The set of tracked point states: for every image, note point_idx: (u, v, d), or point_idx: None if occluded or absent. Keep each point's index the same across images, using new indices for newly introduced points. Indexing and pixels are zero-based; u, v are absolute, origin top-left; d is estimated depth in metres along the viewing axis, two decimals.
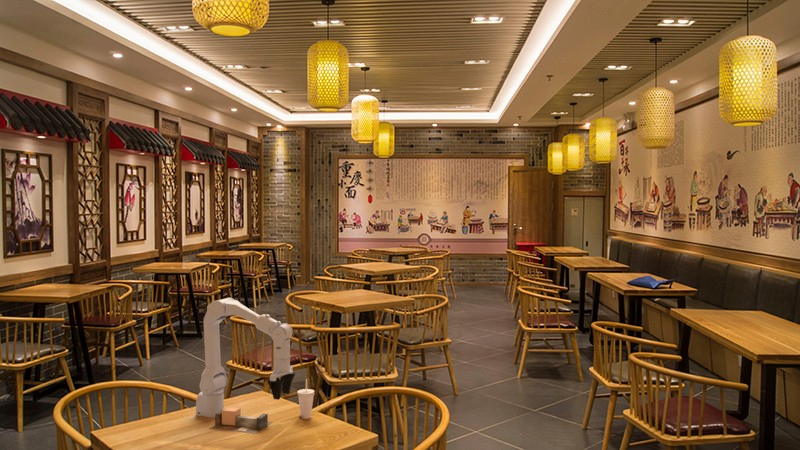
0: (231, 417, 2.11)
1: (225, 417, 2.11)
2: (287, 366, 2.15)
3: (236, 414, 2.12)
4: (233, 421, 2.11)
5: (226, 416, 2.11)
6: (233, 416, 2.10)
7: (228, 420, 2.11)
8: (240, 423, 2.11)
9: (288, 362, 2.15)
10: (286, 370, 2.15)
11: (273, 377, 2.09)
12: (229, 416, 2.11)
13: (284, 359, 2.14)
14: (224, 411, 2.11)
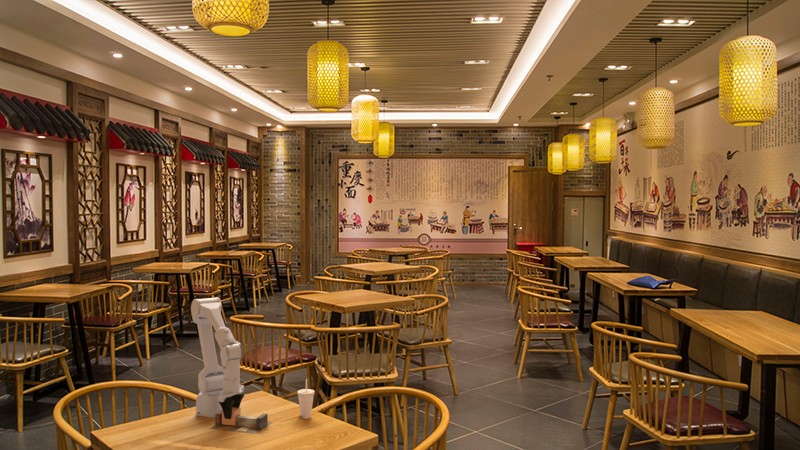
0: (231, 417, 2.11)
1: None
2: (236, 386, 2.11)
3: (236, 414, 2.12)
4: (233, 421, 2.11)
5: None
6: (233, 416, 2.10)
7: (228, 420, 2.11)
8: (240, 423, 2.11)
9: (237, 382, 2.12)
10: (235, 390, 2.11)
11: (221, 398, 2.06)
12: None
13: (233, 379, 2.10)
14: None
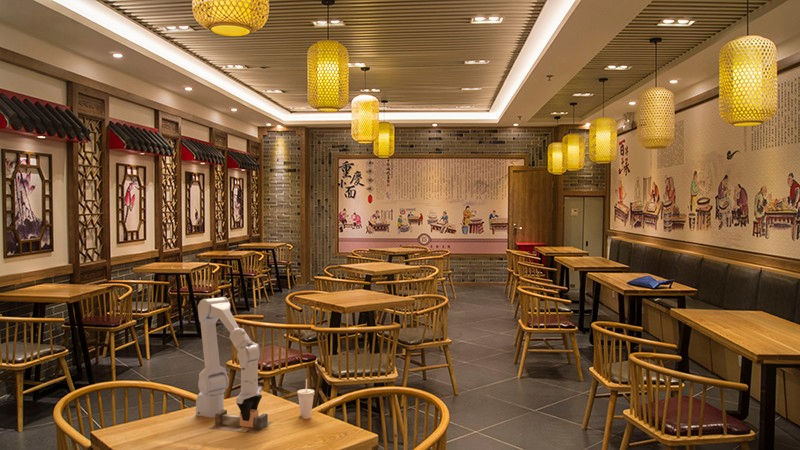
0: (249, 419, 2.09)
1: None
2: (254, 388, 2.10)
3: (254, 416, 2.10)
4: (251, 423, 2.09)
5: None
6: (251, 418, 2.09)
7: (246, 422, 2.09)
8: None
9: (256, 383, 2.10)
10: (253, 392, 2.09)
11: (239, 400, 2.04)
12: None
13: (251, 381, 2.09)
14: None
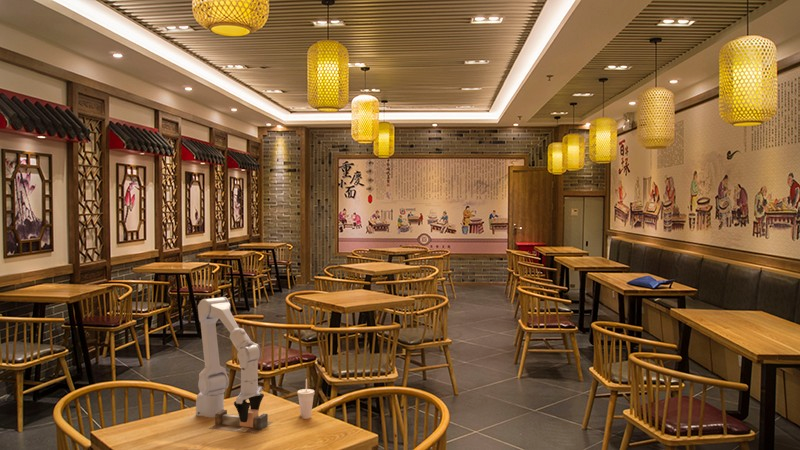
0: (249, 419, 2.09)
1: None
2: (254, 388, 2.10)
3: (254, 416, 2.10)
4: (251, 423, 2.09)
5: None
6: (251, 418, 2.09)
7: (246, 422, 2.09)
8: None
9: (256, 384, 2.10)
10: (253, 392, 2.09)
11: (239, 400, 2.04)
12: None
13: (251, 381, 2.09)
14: None
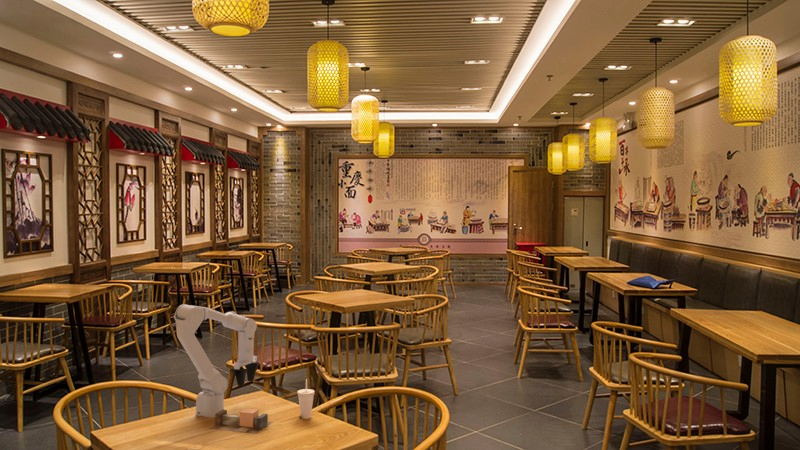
0: (249, 419, 2.09)
1: (243, 419, 2.10)
2: (250, 356, 2.33)
3: (254, 416, 2.10)
4: (251, 423, 2.09)
5: (244, 418, 2.09)
6: (251, 418, 2.09)
7: (246, 422, 2.09)
8: None
9: (251, 352, 2.34)
10: (250, 359, 2.33)
11: (237, 366, 2.28)
12: (247, 418, 2.09)
13: (248, 349, 2.32)
14: (242, 413, 2.10)
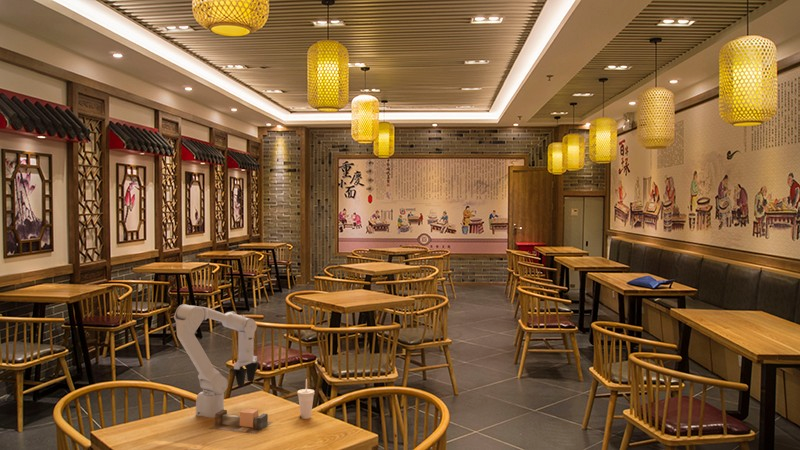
0: (249, 419, 2.09)
1: (243, 419, 2.10)
2: (250, 356, 2.33)
3: (254, 416, 2.10)
4: (251, 423, 2.09)
5: (244, 418, 2.09)
6: (251, 418, 2.09)
7: (246, 422, 2.09)
8: None
9: (251, 352, 2.34)
10: (249, 359, 2.33)
11: (237, 366, 2.28)
12: (247, 418, 2.09)
13: (248, 349, 2.32)
14: (242, 413, 2.10)
